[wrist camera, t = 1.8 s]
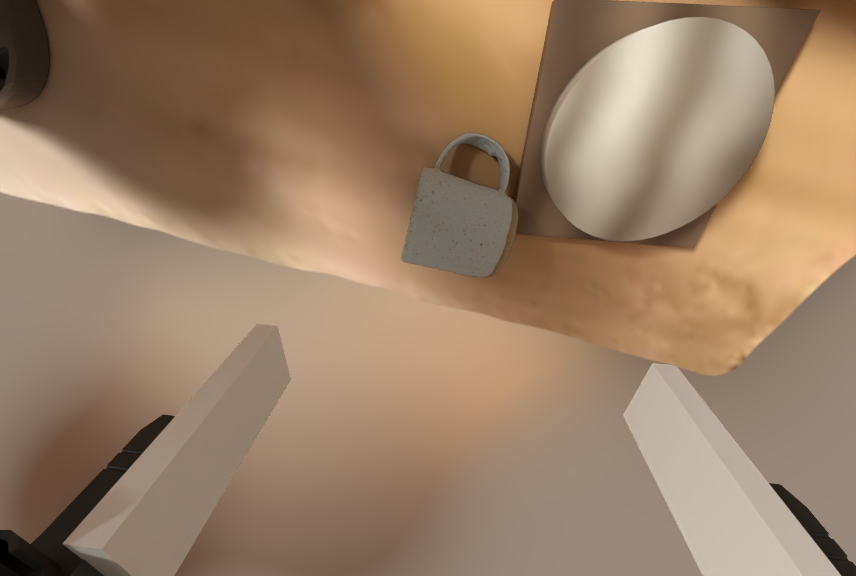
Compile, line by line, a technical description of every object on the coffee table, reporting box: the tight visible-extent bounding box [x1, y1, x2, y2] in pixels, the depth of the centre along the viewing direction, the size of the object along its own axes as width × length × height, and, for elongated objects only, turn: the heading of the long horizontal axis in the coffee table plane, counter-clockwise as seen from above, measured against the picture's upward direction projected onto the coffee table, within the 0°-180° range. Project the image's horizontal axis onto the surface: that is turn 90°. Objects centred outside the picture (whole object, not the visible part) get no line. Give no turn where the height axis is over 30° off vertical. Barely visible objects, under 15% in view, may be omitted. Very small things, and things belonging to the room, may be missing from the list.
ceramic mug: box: [401, 133, 518, 277], centre depth 26 cm, size 11×8×8 cm
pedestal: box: [514, 0, 820, 248], centre depth 24 cm, size 16×16×4 cm
